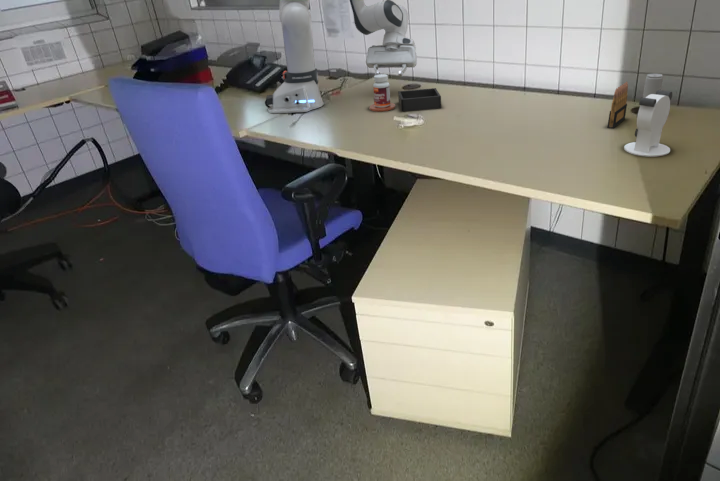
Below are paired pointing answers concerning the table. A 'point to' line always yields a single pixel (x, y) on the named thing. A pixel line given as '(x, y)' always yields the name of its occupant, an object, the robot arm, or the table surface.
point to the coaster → (373, 108)
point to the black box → (419, 99)
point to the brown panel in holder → (618, 106)
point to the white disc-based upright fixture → (651, 125)
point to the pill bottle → (381, 91)
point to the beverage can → (652, 84)
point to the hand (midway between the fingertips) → (388, 76)
